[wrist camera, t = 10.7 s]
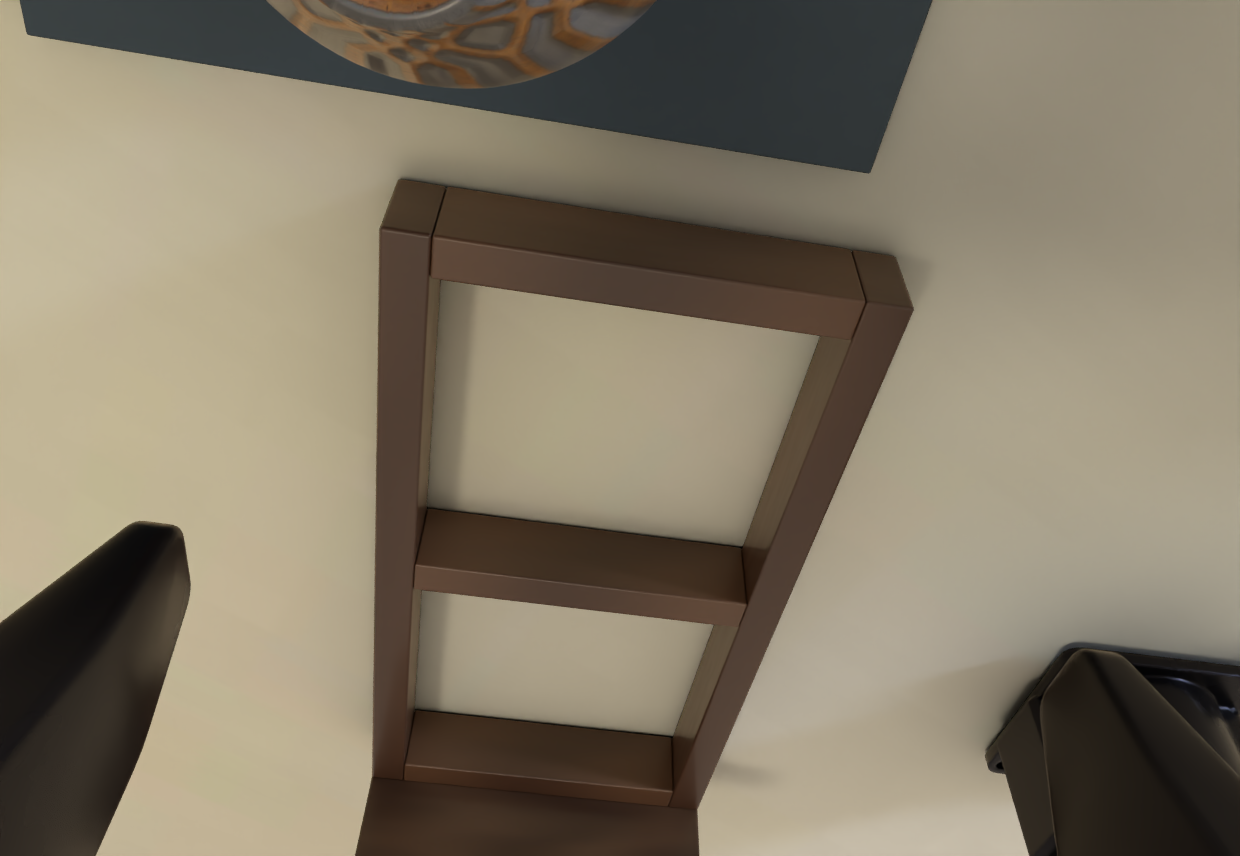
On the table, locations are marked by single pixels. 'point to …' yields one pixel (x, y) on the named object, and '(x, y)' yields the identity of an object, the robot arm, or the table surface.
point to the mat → (595, 67)
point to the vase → (463, 35)
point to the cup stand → (587, 558)
